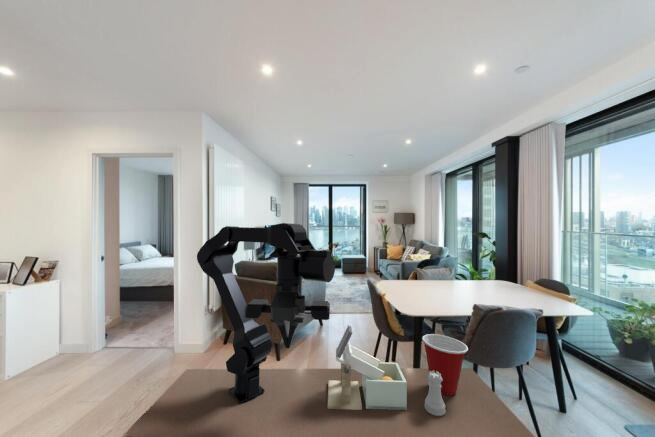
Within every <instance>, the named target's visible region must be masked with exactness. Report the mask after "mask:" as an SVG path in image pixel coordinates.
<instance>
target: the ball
mask: <svg viewBox="0 0 655 437" xmlns="http://www.w3.org/2000/svg"><path fill="white" fill-rule="evenodd" d="M381 380H393V379H392V378H390V377H388V376H384V377H382V379H381Z"/></svg>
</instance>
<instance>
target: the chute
mask: <svg viewBox="0 0 655 437" xmlns="http://www.w3.org/2000/svg"><path fill="white" fill-rule="evenodd" d="M352 329H353V328H352V326H351V325H349V324H347V327H346V329H345V330H344V333H343V336H342V337H341V340H340V342H339V343H338V346H337V347H336V348H335V361H336V362H338V363H340V364H341V363H342V364H344V365H350V366H351V370H354V371H356V372H358V373H360V374H361V375H362V374H363V375H365V376H367V377H369V378H371V379H373V380H381V379H382V377H383V374H384V371H382V370H381V369H379V368H377V367H378V365H379V363H380V362H381V360H380V359H378V358H376V357H374V356H372V355H371V354H368V353H367V352H365V351H363V350H361V349H359V348H357V347H356V346H354V345H351V344H352V343H351V342H349V341H350V339H351V337H352V335H353V330H352ZM344 349H345V350H344Z"/></svg>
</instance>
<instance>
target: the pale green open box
mask: <svg viewBox="0 0 655 437" xmlns="http://www.w3.org/2000/svg"><path fill="white" fill-rule="evenodd" d="M377 368H379V369H381V370H382V371H384V374H383V377H384V376H388V377H390V378H392V379H393V380H373V379H371V378H369V377H367V376H365V375H363V374H361V387H362V394H363V399H364V403H365V404H364V405H365V409H367V410H368V409H370V410H398V411H407V408H408V407H407V404H408V403H407V400H408V399H407V398H408V397H407V396H408V394H407V393H408V391H407V388H408V387H407V384H408V382H407V380H406V378H405V376H404V374H403V372H402V369H401V368H400V366H399V364H398V362H383V361H382V362H381V361H380V363H379V365H378V367H377Z"/></svg>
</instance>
